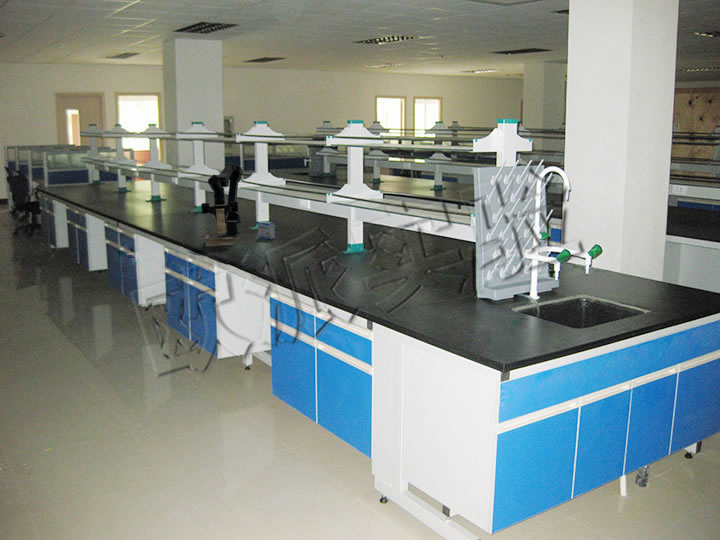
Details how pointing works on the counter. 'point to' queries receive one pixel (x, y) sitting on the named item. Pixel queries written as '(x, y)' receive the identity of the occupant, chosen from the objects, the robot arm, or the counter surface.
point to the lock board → (218, 241)
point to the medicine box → (266, 230)
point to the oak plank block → (220, 220)
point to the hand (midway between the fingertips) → (220, 220)
